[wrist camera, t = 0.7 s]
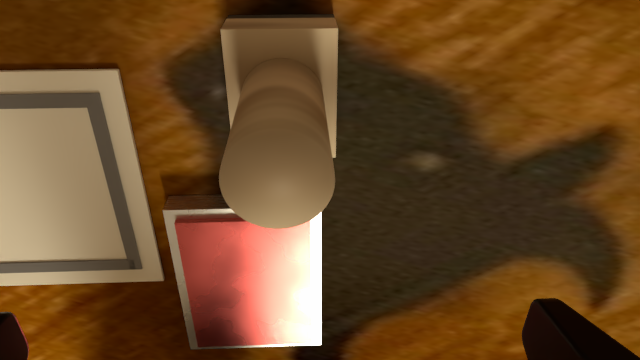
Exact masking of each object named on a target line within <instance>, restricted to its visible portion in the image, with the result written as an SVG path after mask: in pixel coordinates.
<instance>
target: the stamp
mask: <svg viewBox="0 0 640 360" xmlns="http://www.w3.org/2000/svg"><path fill="white" fill-rule="evenodd" d="M220 30H221V40H222V50H223V59H224V69H225V79H226V88H227V98H228V108H229V117H230V127H231V131H230V134H229V138H228V141H227V145H226V149H225V152H224V156H223V160H222V163H221V167H220V172H219V185H220V190H221V193H222V195H223V198H224V199H225V201H226V203H227V204H228V206H229V207H230V208H231V209H232V210H233V211H234V212H235V213H236V214H237V215H238V216H239V217H241V218H242V219H244V220H246V221H248V222H250V223H252V224H254V225H257V226H260V227H264V228H271V229H285V228H291V227H296V226H299V225H302V224H304V223H306V222H308V221H310V220H312V219H313V218H315V217H316V216H317V215H319V214H320V213H321V212H322V211H323V210H324V208H325V207H326V206H327V204H328V203H329V201H330V199H331V197H332V195H333V191H334V187H335V173H334V166H333V159H332V158H336V111H337V60H338V27H337V23H336V20H335V17H334V14H310V15H228V17H227V19H226V20H225V22H224V24H223V26H222V28H221V29H220Z"/></svg>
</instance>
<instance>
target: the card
mask: <svg viewBox="0 0 640 360" xmlns="http://www.w3.org/2000/svg"><path fill="white" fill-rule="evenodd" d="M164 279H165V278H164V273H163V268H162V264H161V259H160V255H159V250H158V245H157V241H156V236H155V232H154V227H153V223H152V218H151V213H150V209H149V204H148V200H147V195H146V190H145V186H144V181H143V177H142V172H141V167H140V163H139V158H138V154H137V149H136V144H135V140H134V135H133V131H132V126H131V122H130V117H129V112H128V108H127V103H126V99H125V94H124V89H123V85H122V80H121V76H120V71H119V69H60V70H0V286H15V285H48V284H81V283H114V282H146V281H164Z"/></svg>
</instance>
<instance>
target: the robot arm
mask: <svg viewBox="0 0 640 360" xmlns="http://www.w3.org/2000/svg"><path fill="white" fill-rule="evenodd" d="M522 341H523V345H524V349H525V352H526V355H527V358H528V360H640V358H639V357H638V356H637V355H635V354H634V353H632V352H631V351H630V350H628V349H627V348H626V347H624V346H623V345H621V344H620V343H619V342H617V341H616V340H615V339H613V338H612V337H610V336H609V335H608V334H606V333H605V332H604V331H602V330H601V329H599V328H598V327H597V326H595V325H594V324H593V323H591V322H590V321H588V320H587V319H586V318H584V317H583V316H582V315H580V314H579V313H577V312H576V311H575V310H573V309H572V308H571V307H569V306H568V305H566V304H565V303H564V302H562V301H561V300H559V299H555V298H549V299H535V300H534V301H533V302H532V303H531V306H530V309H529V312H528V315H527V318H526V321H525V324H524V327H523V330H522ZM28 353H29V347H28V342H27V340H26V338H25V336H24V333H23V331H22V329H21V327H20V325H19V322H18V320H17V318H16V316H15V315H14V314H12V313H11V312H0V360H27V358H28Z"/></svg>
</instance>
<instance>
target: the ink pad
mask: <svg viewBox="0 0 640 360" xmlns="http://www.w3.org/2000/svg"><path fill="white" fill-rule="evenodd" d="M163 215H164V220H165V225H166V230H167V235H168V240H169V245H170V250H171V255H172V260H173V265H174V270H175V275H176V280H177V285H178V289H179V294H180V299H181V304H182V309H183V314H184V319H185V324H186V329H187V334H188V339H189V344H190V349H219V348H247V347H274V346H302V345H321V213H320V214H319V215H317V216H316V217H315V218H313V219H312V220H310V221H308V222H306V223H304V224H302V225H299V226H296V227H291V228H285V229H271V228H264V227H260V226H257V225H254V224H252V223H250V222H248V221H246V220H244V219H242V218H241V217H239V216H238V215H237V214H236V213H235V212H234V211H233V210H232V209H231V208H230V207H229V206H228V204H227V203H226V201H225V199H224V198H223V195H222V194H221V195H178V196H168V199H167V201H166V203H165V206H164V208H163Z"/></svg>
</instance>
